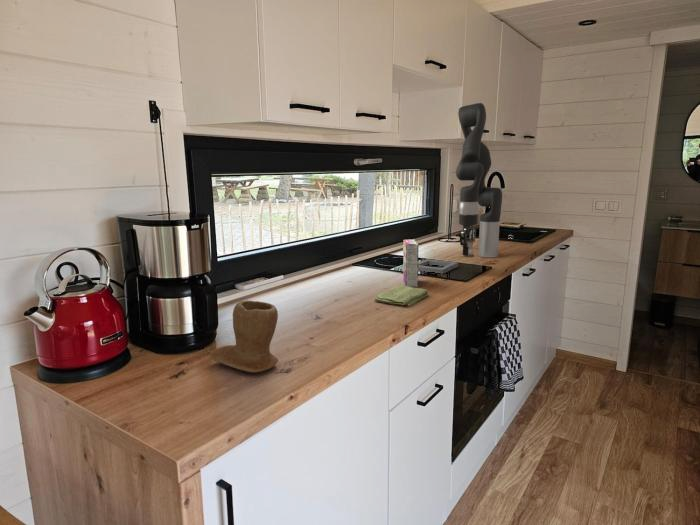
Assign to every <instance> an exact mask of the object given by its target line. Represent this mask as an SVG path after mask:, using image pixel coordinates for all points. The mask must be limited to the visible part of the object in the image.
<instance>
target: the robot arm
mask: <svg viewBox="0 0 700 525" xmlns="http://www.w3.org/2000/svg"><path fill="white" fill-rule="evenodd" d="M457 113H458V114H457V116H458V119H459V124H460V127H461V132H462V134H463V137H464V141H463V143H462V150H461V151H462V153H461V157H460V160H459V162H458V164H457V165H456V169H455V176H456V178H457V179H458V180H459V181H463V182H465V181H473V183H472V184H471V185H467V186H463V187H461V188H460V192H459V193H460V194H459V197H460V198H459V208H458V224H459V225H460V226H462V229H461V231H459V235H458V236H459V243H460V246H461V247H462V246H463V255H466V256H467V255H468V249H469V241H470V240H471V239H475V241H474V242H473V243H475V242H476V235H477V234H476V233H477V227H475V226H476V225H478V223H479V234H478V253H477V254H478V257H481V258H488V259H489V258H498V256H499V241H500V238H499V237H500V224H501V223H500V219H501V214H502V204H503V190H502V189H501V188H500V187H487V186H486V178H487V175H488V173H489V171H490V170H491V167H492V159H491V152H490V148H488V146H487V145H486V144H485V143H484V142H483V141H482V138H483V134H484V130H485V126H486V121H487V111H486V107H485V105H484V104H483V103H481V102H478V103H472V104H469V105H468V104H467V105H464V106H461V107H459V108H458V112H457ZM472 127H473V129H472ZM479 206H480V207H484V208H490V210H489V211H488V212H486V213H483V214H480V216H479ZM464 241H465V243H464Z"/></svg>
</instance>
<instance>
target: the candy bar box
mask: <svg viewBox="0 0 700 525" xmlns="http://www.w3.org/2000/svg"><path fill="white" fill-rule="evenodd" d="M402 251H403V253H402V254H403V256H402V257H403V259H402V260H403V267H402V268H403V270H402V272H403V281H404V284H405V285H404V286H408V287H412V288H419V271H418V263H419V243H418V241H417V240H416V239H414V238H413V239H410V238H409V239H403V250H402Z"/></svg>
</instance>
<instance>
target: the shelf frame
mask: <svg viewBox="0 0 700 525" xmlns="http://www.w3.org/2000/svg"><path fill="white" fill-rule="evenodd" d="M428 264H429V265H428ZM425 265H427V266H425ZM432 265H439V266H432ZM441 266H444V267H441ZM458 267H459V262H457V261H448V260H440V259H439V260H438V259H429V258H426V259H424V260H421V261H418V272H419V271H425V272H424V273H427V272H435V273H441V274H440V275H444V274H443V273H445V274H446V272H447V273H449V272H450V270H451V271H453V270H455V269H456V268H458ZM454 268H455V269H454ZM452 269H453V270H452ZM448 271H449V272H448ZM435 273H434V274H435Z"/></svg>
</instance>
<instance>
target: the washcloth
mask: <svg viewBox="0 0 700 525" xmlns="http://www.w3.org/2000/svg"><path fill="white" fill-rule="evenodd" d="M428 294H429V291H428V289H426V288H425V289H424V288H419V287H408V286H406V285H402V284H397V285H396V286H394V287H391V288H390V289H387V290H386V291H383V292H382V293H379V294H378V295H376V297H375V298H374V301H375V302H378V303H384V304H389V305H397V304H398V305H399V306H402V305H403V307H407V306H409V307H411V306H412V304H413V305H414V304H417V303H418V302H419V301H421V300H423V299H424V298H426V297H427V296H428ZM422 298H423V299H422ZM398 305H397V306H398Z"/></svg>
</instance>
